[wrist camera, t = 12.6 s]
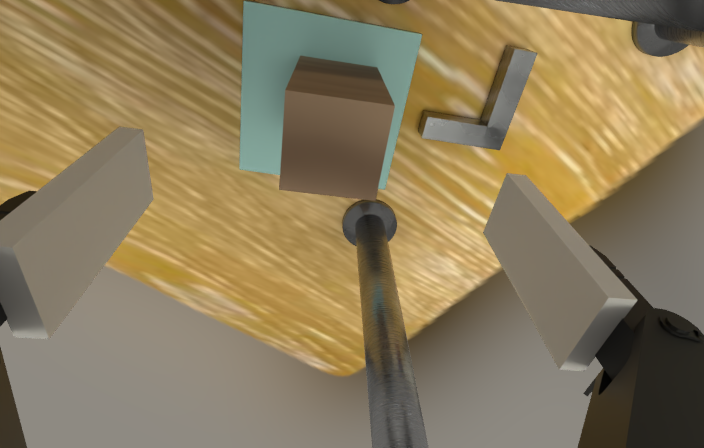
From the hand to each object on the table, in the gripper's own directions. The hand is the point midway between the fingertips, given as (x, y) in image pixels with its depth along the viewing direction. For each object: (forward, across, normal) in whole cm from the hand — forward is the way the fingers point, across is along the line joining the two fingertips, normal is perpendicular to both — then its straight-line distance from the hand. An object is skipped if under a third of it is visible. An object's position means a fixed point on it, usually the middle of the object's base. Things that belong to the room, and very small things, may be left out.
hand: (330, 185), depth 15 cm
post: (+14, +4, -11) cm, 18 cm away
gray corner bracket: (+14, +10, +1) cm, 17 cm away
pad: (+14, 0, -2) cm, 15 cm away
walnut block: (+14, 0, -1) cm, 14 cm away
